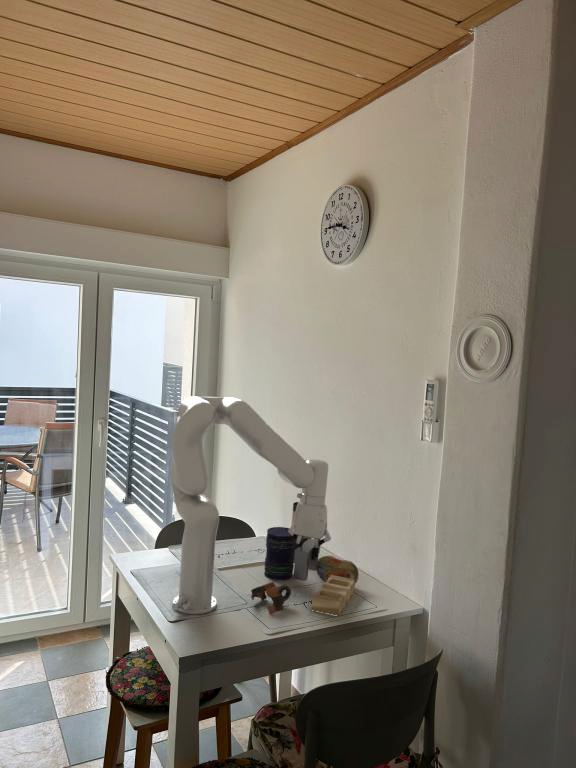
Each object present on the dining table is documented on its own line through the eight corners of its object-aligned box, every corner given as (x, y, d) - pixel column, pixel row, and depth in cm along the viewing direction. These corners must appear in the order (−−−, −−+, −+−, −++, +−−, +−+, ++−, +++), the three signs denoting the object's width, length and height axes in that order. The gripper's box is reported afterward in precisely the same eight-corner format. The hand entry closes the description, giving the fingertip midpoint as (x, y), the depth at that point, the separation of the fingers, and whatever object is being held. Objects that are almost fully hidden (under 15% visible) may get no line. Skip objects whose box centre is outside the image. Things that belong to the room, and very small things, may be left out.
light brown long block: (338, 617, 169) (339, 603, 169) (311, 611, 172) (312, 597, 171) (354, 592, 188) (355, 579, 187) (330, 587, 190) (331, 574, 190)
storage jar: (282, 583, 191) (285, 538, 190) (257, 575, 196) (260, 531, 195) (298, 574, 199) (301, 531, 198) (275, 567, 204) (277, 525, 204)
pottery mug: (261, 618, 166) (252, 589, 168) (253, 619, 174) (244, 591, 176) (299, 603, 171) (289, 575, 173) (289, 604, 179) (280, 577, 181)
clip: (304, 582, 177) (307, 552, 176) (292, 579, 178) (295, 550, 178) (318, 568, 190) (320, 540, 190) (306, 565, 191) (309, 538, 191)
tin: (315, 578, 197) (316, 553, 197) (320, 575, 200) (321, 551, 199) (354, 591, 188) (356, 565, 188) (358, 588, 191) (360, 563, 191)
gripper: (283, 497, 182) (278, 555, 183) (335, 507, 177) (329, 566, 177) (291, 493, 189) (286, 548, 190) (341, 502, 184) (335, 559, 185)
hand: (307, 556), depth 184 cm, fingers closed on clip, 4 cm apart
